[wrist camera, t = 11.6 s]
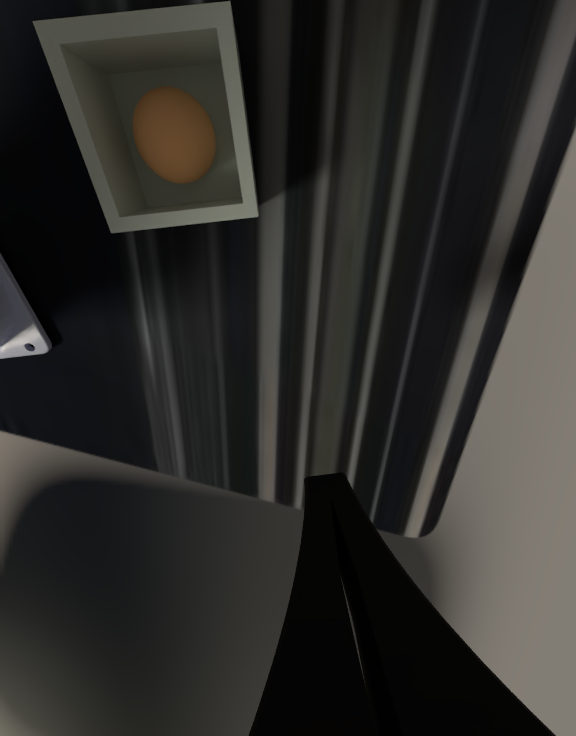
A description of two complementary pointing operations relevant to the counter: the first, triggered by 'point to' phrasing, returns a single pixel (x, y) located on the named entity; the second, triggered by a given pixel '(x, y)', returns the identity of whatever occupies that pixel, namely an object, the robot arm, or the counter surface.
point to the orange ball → (174, 134)
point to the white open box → (127, 86)
